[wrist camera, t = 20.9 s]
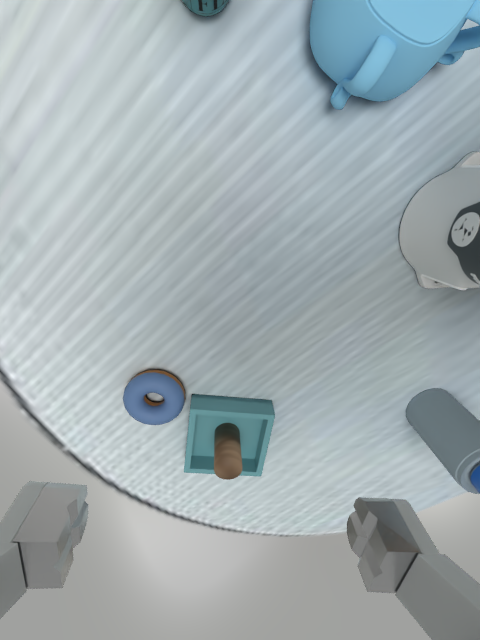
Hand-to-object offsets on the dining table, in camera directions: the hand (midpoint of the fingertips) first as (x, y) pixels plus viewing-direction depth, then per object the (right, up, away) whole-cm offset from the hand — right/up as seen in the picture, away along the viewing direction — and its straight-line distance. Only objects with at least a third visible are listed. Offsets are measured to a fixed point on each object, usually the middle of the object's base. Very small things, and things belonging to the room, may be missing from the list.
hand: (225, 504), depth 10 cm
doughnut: (-14, -6, +45) cm, 48 cm away
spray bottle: (+36, -11, +50) cm, 62 cm away
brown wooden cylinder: (-2, -15, +48) cm, 50 cm away
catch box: (-2, -14, +49) cm, 51 cm away
